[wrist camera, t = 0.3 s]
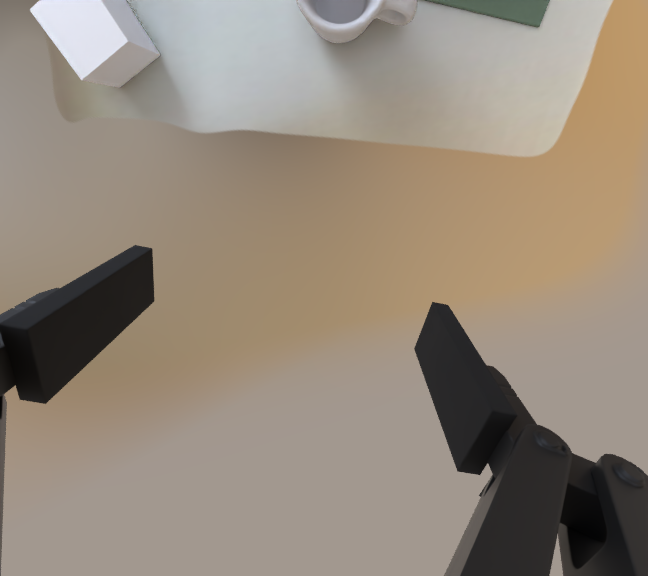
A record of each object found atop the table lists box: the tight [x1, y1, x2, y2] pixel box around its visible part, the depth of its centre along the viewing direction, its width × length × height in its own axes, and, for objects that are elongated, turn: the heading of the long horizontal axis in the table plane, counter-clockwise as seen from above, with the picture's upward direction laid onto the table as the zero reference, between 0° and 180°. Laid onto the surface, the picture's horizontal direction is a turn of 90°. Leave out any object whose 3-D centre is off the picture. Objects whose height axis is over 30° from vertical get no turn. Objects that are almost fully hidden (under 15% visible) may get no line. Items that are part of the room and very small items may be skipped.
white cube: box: [30, 0, 160, 88], centre depth 31 cm, size 6×6×6 cm
